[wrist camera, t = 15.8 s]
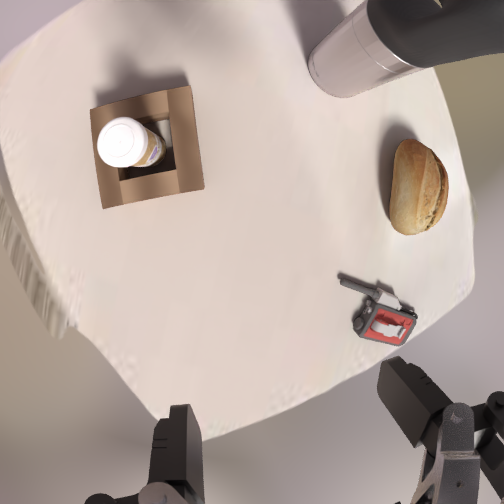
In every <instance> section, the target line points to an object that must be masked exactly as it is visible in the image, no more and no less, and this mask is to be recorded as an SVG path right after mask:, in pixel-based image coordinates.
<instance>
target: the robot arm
mask: <svg viewBox="0 0 504 504" xmlns="http://www.w3.org/2000/svg"><path fill="white" fill-rule="evenodd" d="M439 1H440V3H441V5H442V8H441V7H440V6H439V5H438V4H437V3H436V2H435V1H434V0H365V1H364V2H362V3H361V4H360V5H359V6H358V7H357V8H356V9H355V10H354V11H353V12H352V13H350V14H349V15H348V16H347V17H346V18H345V19H344V20H343V21H342V22H341V23H340V24H339V25H338V26H337V27H336V28H334V29H333V30H332V31H331V32H330V33H329V34H328V35H327V36H326V37H325V38H324V39H323V40H322V41H321V42H320V43H319V44H318V45H317V46H316V47H315V48H314V49H313V51H312V52H311V54H310V56H309V60H308V67H309V71H310V74H311V76H312V78H313V80H314V81H315V83H316V84H317V85H318V86H319V87H320V88H321V89H322V90H323V91H325V92H326V93H328V94H330V95H332V96H335V97H339V98H348V97H352V96H355V95H357V94H360V93H362V92H365V91H367V90H370V89H372V88H375V87H377V86H380V85H382V84H385V83H388V82H390V81H393V80H396V79H398V78H401V77H404V76H407V75H409V74H412V73H415V72H418V71H420V70H423V69H426V68H430V67H433V66H435V65H439V64H444V63H450V62H455V61H460V60H465V59H468V58H473V57H478V56H483V55H489V54H497V53H504V0H439ZM377 391H378V395H379V397H380V399H381V400H382V402H383V403H384V405H385V406H386V408H387V409H388V410H389V412H390V413H391V415H392V416H393V418H394V419H395V421H396V422H397V424H398V425H399V426H400V428H401V429H402V431H403V432H404V434H405V435H406V437H407V438H408V440H409V441H410V443H411V444H412V445H413V447H414V448H417V447H418V446H420V445H422V444H423V445H424V446H425V447H426V448H425V450H424V455H423V461H422V467H421V472H420V477H419V481H418V485H417V488H416V491H415V493H414V495H413V497H412V500H411V503H410V504H477V499H478V490H479V478H480V468H481V470H482V471H483V472H484V474H485V476H486V477H487V479H488V480H489V481H490V483H491V485H492V486H493V488H494V489H495V491H496V492H497V494H498V496H499V497H500V499H501V503H500V504H504V445H503V443H502V442H501V441H500V440H499V438H498V437H497V436H496V434H497V432H498V434H499V435H500V436H501V437H502V439H503V440H504V392H502V391H497V392H494V393H492V394H491V395H490V396H489V397H488V399H487V402H486V403H483V404H480V405H477V406H473V407H469V406H468V405H466V404H464V403H453V402H452V401H451V400H450V399H449V398H448V397H447V396H446V394H445V393H444V392H443V391H442V390H441V389H440V388H439V387H438V386H437V385H436V384H435V383H434V382H433V381H432V380H431V378H429V377H428V376H427V374H426V373H425V372H424V371H423V370H422V369H421V368H420V367H418V366H416V365H413V364H412V363H409V364H406V362H405V361H404V360H403V359H402V358H401V357H400V356H396V357H393V358H391V359H388V360H385V361H383V362H382V363H381V367H380V373H379V379H378V384H377ZM85 504H205V498H204V481H203V460H202V437H201V431H200V428H199V425H198V422H197V420H196V418H195V415H194V413H193V410H192V408H191V405H190V404H183V405H172V406H171V407H170V414H169V418H164V419H160V420H159V422H158V423H157V425H156V427H155V429H154V435H153V443H152V451H151V459H150V469H149V479H148V483H147V485H146V486H145V487H143V488H142V489H141V491H140V492H139V493H137V494H135V495H132V496H127V497H123V498H117V499H113V498H112V497H111V496H109V495H107V494H101V493H100V494H94V495H92V496H90V497H89V498H88V499H87V500H86V501H85ZM395 504H401V503H400V502H397V503H395Z"/></svg>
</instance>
